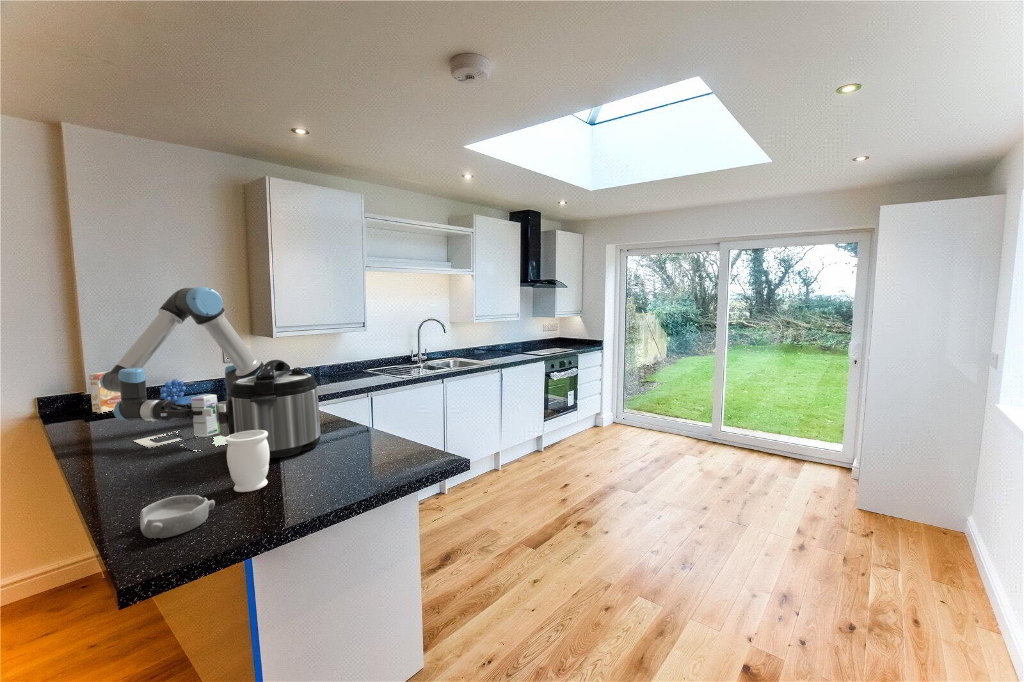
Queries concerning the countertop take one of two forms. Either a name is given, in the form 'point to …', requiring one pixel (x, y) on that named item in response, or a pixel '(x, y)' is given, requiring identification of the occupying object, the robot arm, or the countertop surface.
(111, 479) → the countertop surface
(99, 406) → the coffeecake box
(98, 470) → the countertop surface
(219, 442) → the mat
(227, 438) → the jar
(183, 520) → the dish
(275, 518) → the countertop surface
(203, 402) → the syrup box
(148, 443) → the frame
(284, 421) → the pressure cooker
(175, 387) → the grapes
